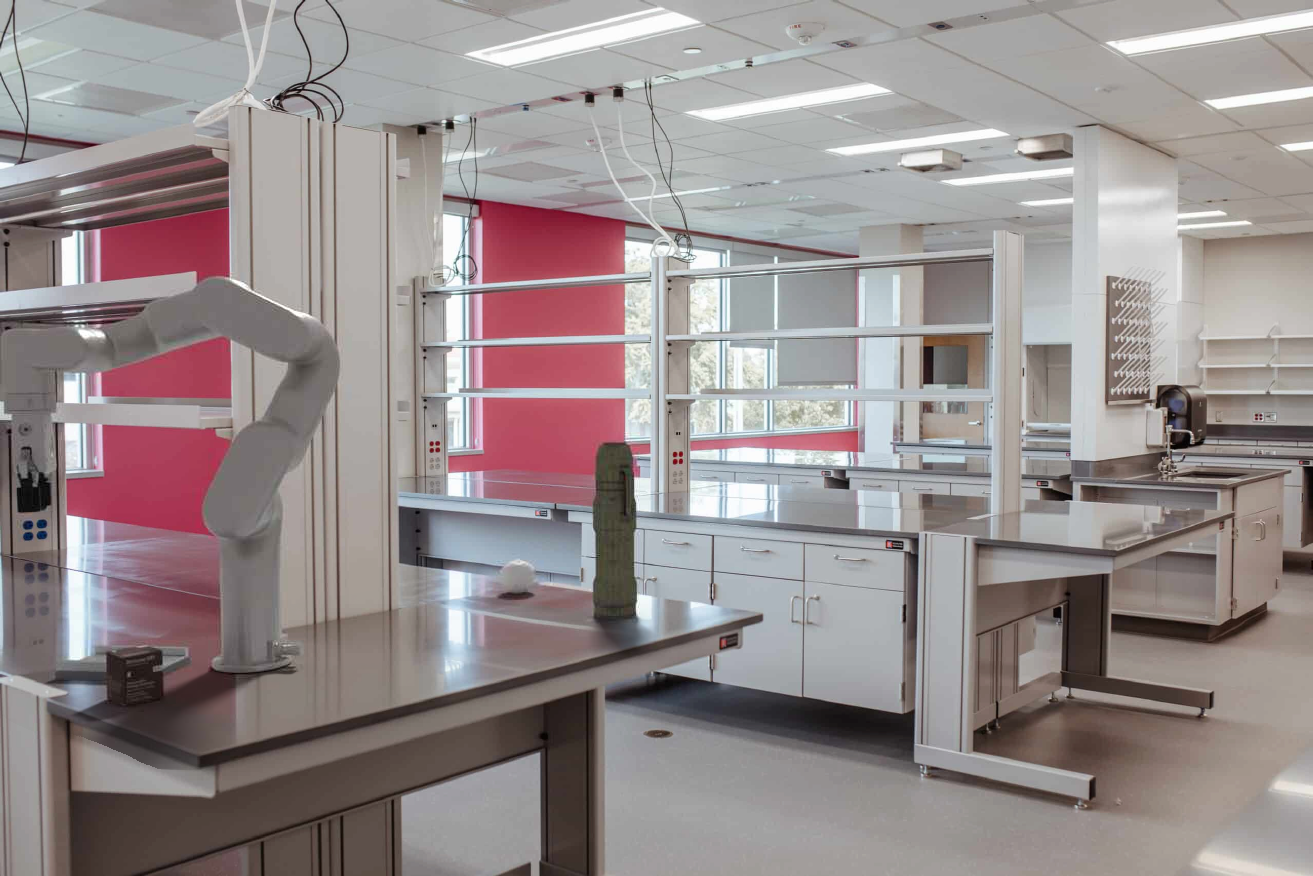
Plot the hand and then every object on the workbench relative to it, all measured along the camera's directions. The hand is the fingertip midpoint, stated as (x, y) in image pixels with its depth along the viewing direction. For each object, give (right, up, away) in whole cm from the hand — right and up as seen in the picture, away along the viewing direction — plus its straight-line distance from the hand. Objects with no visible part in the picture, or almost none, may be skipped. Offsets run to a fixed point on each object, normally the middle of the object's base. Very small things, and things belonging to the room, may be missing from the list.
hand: (35, 509), depth 180 cm
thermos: (+93, -25, +43) cm, 106 cm away
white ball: (+71, -23, +67) cm, 100 cm away
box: (+24, -28, -16) cm, 40 cm away
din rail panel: (+15, -27, 0) cm, 30 cm away
